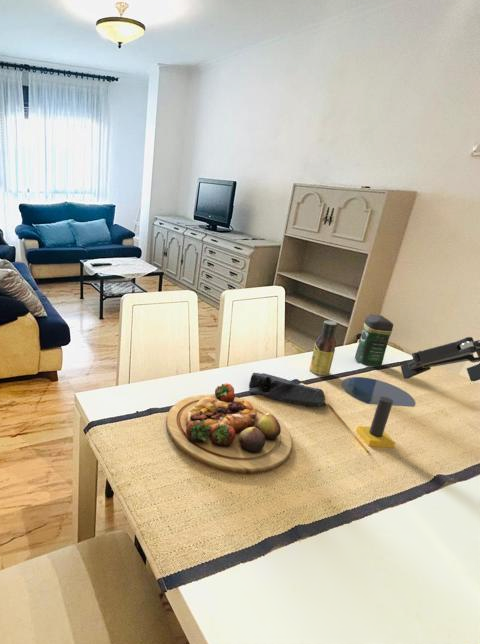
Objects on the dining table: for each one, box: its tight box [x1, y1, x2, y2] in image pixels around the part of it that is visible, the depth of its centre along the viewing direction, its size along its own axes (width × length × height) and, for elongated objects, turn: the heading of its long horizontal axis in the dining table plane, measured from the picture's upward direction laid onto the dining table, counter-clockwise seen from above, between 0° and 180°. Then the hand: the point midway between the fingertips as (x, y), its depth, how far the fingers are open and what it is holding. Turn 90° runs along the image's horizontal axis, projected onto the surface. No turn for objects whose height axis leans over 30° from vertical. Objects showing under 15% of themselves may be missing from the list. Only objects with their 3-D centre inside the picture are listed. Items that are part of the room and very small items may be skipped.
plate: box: [340, 376, 416, 408], centre depth 122 cm, size 20×20×1 cm
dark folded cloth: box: [248, 372, 326, 407], centre depth 121 cm, size 15×22×5 cm
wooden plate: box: [165, 382, 293, 475], centre depth 100 cm, size 32×32×8 cm
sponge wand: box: [353, 397, 396, 453], centre depth 96 cm, size 6×6×14 cm
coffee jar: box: [354, 313, 394, 368], centre depth 141 cm, size 10×8×19 cm
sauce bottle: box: [309, 320, 338, 377], centre depth 131 cm, size 6×6×20 cm
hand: (436, 373), depth 79 cm, fingers open, 13 cm apart
